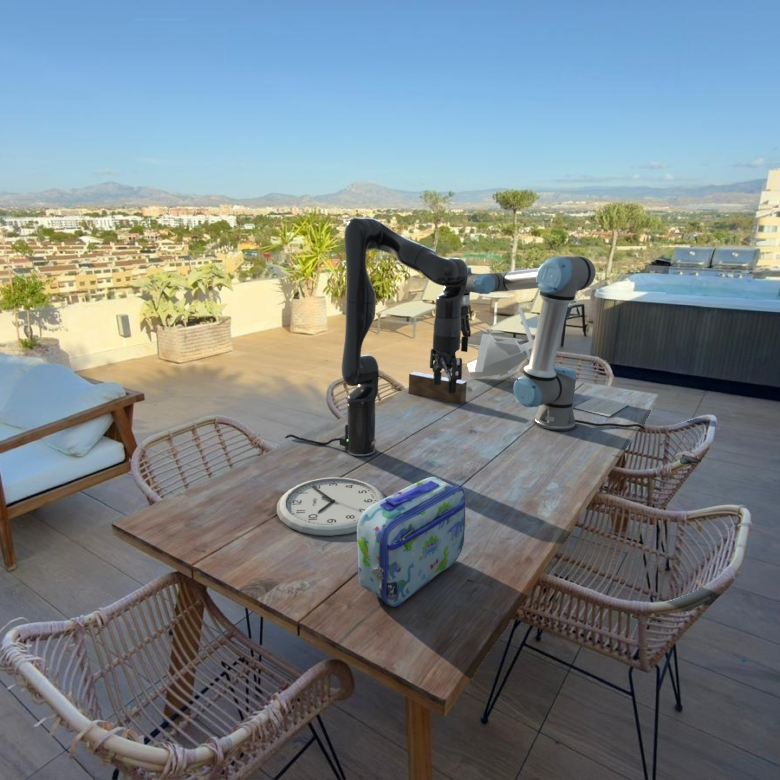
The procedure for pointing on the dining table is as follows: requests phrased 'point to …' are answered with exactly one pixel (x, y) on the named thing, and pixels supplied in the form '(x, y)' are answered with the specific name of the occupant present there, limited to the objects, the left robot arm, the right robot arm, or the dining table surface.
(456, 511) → the lunch box
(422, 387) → the bar
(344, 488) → the wall clock
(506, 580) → the dining table surface
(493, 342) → the white plastic object
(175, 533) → the dining table surface
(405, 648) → the dining table surface
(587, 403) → the invitation card
